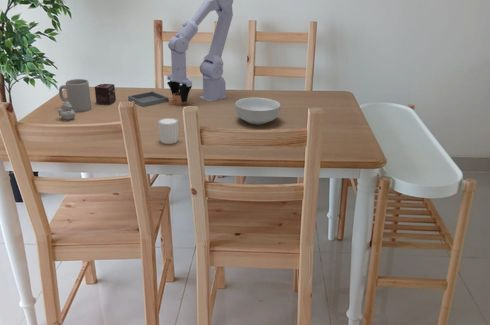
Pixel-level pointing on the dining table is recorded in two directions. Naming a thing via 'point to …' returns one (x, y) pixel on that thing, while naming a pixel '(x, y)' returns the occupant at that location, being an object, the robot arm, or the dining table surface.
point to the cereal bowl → (257, 110)
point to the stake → (182, 104)
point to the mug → (77, 94)
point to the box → (105, 94)
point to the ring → (176, 100)
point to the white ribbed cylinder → (168, 130)
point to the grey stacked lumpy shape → (66, 111)
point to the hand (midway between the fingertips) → (180, 100)
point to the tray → (148, 99)
